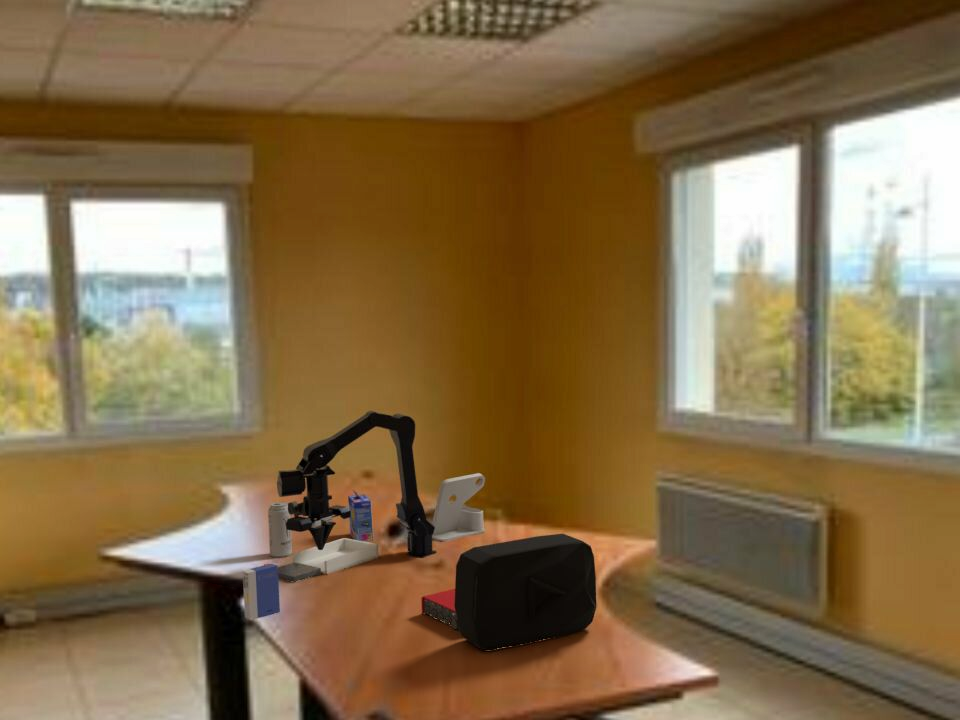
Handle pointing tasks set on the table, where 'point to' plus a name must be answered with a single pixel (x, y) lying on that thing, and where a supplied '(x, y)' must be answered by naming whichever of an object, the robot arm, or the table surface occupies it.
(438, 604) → the red device housing
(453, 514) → the phone holder
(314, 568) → the cover plate
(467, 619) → the black hard case
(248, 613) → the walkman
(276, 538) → the energy drink can
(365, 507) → the ink cartridge box
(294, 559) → the tray
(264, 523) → the table surface
